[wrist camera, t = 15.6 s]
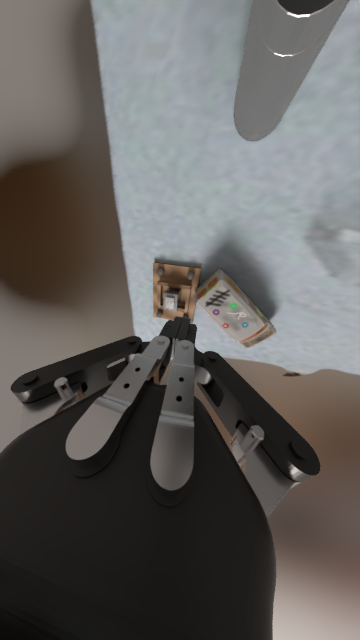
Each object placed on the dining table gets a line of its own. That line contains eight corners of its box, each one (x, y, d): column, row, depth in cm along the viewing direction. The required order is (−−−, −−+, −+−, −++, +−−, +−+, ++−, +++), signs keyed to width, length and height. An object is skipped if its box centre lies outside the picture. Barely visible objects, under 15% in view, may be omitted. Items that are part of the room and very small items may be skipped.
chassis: (154, 262, 42) (150, 263, 39) (201, 268, 40) (200, 270, 37) (154, 315, 50) (151, 319, 48) (192, 321, 49) (191, 326, 46)
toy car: (242, 340, 49) (250, 360, 40) (193, 291, 44) (189, 303, 35) (272, 322, 44) (287, 341, 35) (219, 265, 39) (222, 271, 30)
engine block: (169, 286, 43) (162, 293, 37) (181, 288, 43) (177, 295, 37) (168, 301, 46) (162, 310, 40) (180, 303, 45) (175, 312, 39)
